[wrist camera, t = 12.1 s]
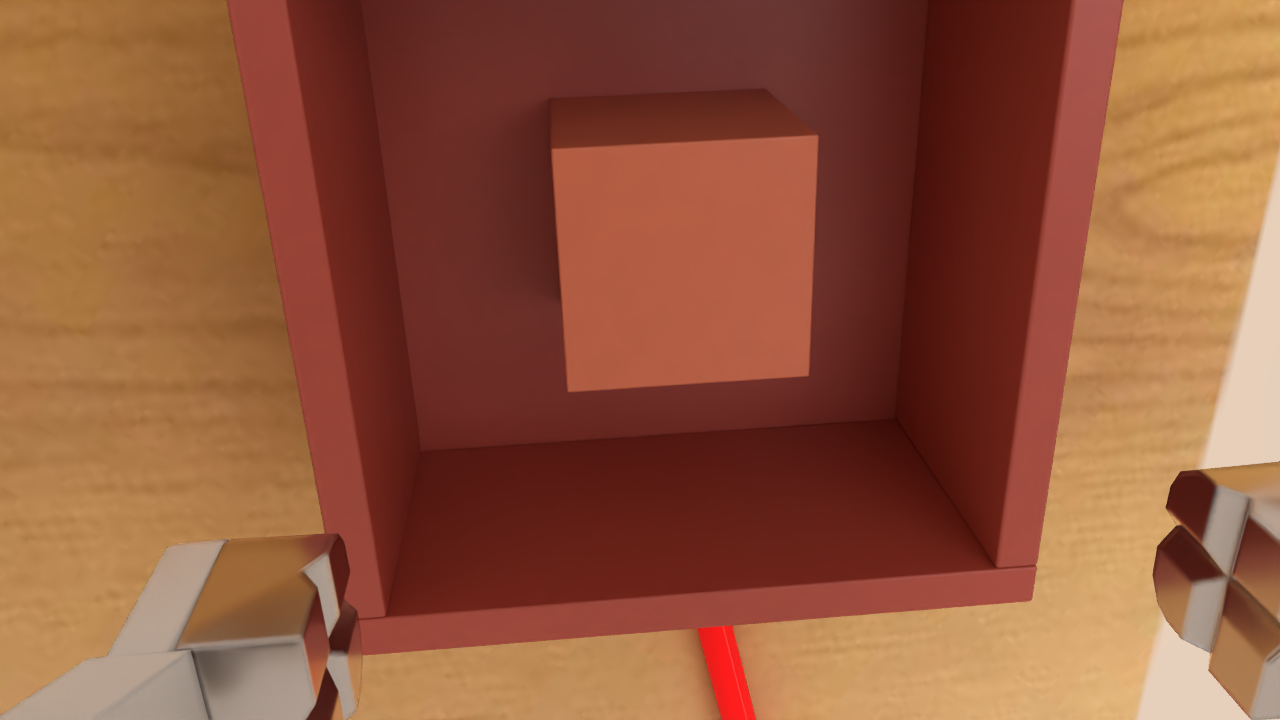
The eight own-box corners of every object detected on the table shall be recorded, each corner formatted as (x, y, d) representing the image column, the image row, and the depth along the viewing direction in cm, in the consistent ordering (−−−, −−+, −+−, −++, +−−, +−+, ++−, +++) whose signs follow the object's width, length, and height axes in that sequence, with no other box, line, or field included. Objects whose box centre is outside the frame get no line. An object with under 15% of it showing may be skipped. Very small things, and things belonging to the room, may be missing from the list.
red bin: (309, -118, 20) (203, -119, 13) (964, -139, 20) (1149, -150, 14) (394, 466, 25) (346, 657, 19) (913, 430, 26) (1032, 602, 19)
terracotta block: (548, 98, 21) (550, 148, 17) (766, 88, 21) (819, 134, 17) (561, 304, 23) (567, 393, 19) (762, 292, 23) (809, 377, 19)
